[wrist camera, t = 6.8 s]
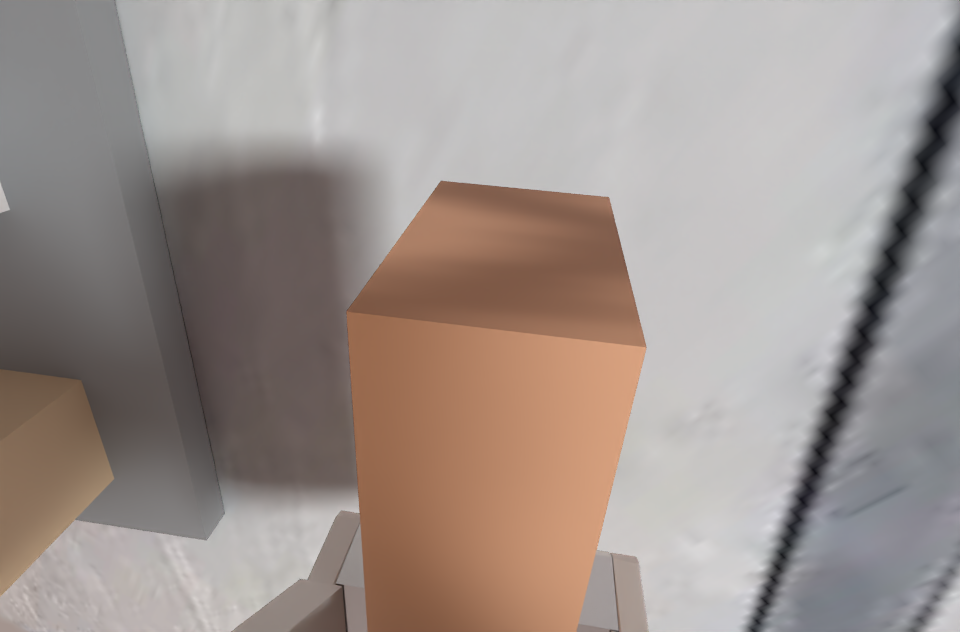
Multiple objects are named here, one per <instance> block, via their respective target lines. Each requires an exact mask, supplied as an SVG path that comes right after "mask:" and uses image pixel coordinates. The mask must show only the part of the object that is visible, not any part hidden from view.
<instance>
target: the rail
mask: <svg viewBox="0 0 960 632" xmlns="http://www.w3.org/2000/svg"><path fill="white" fill-rule="evenodd" d="M346 313H347V329H348V344H349V359H350V374H351V389H352V404H353V419H354V434H355V450H356V465H357V480H358V495H359V510H360V525H361V540H362V556H363V571H364V586H365V601H366V616H367V631H368V632H576V631H577V627H578V623H579V619H580V615H581V611H582V607H583V603H584V599H585V594H586V590H587V586H588V582H589V578H590V574H591V570H592V566H593V562H594V558H595V554H596V550H597V546H598V542H599V538H600V534H601V530H602V526H603V522H604V518H605V514H606V509H607V505H608V501H609V497H610V493H611V489H612V485H613V481H614V477H615V473H616V469H617V465H618V461H619V457H620V453H621V449H622V445H623V441H624V437H625V433H626V429H627V424H628V420H629V416H630V412H631V408H632V404H633V400H634V396H635V392H636V388H637V384H638V380H639V376H640V372H641V368H642V364H643V360H644V356H645V352H646V348H647V347H646V343H645V339H644V335H643V331H642V327H641V323H640V319H639V315H638V311H637V307H636V303H635V299H634V295H633V291H632V287H631V283H630V279H629V275H628V271H627V267H626V263H625V259H624V255H623V251H622V247H621V243H620V239H619V235H618V231H617V227H616V223H615V219H614V215H613V211H612V207H611V203H610V199H609V197H601V196H591V195H581V194H571V193H560V192H550V191H540V190H529V189H519V188H509V187H499V186H488V185H478V184H468V183H457V182H447V181H441V182H440V183H439V184H438V186H437V187H436V188H435V190H434V191H433V193H432V194H431V195H430V197H429V198H428V200H427V201H426V202H425V204H424V205H423V206H422V208H421V209H420V211H419V212H418V213H417V215H416V216H415V217H414V219H413V220H412V222H411V223H410V224H409V226H408V227H407V229H406V230H405V231H404V233H403V234H402V235H401V237H400V238H399V240H398V241H397V242H396V244H395V245H394V247H393V248H392V249H391V251H390V252H389V253H388V255H387V256H386V258H385V259H384V260H383V262H382V263H381V264H380V266H379V267H378V269H377V270H376V271H375V273H374V274H373V276H372V277H371V278H370V280H369V281H368V282H367V284H366V285H365V287H364V288H363V289H362V291H361V292H360V294H359V295H358V296H357V298H356V299H355V300H354V302H353V303H352V305H351V306H350V307H349V309H348V310H347V311H346Z"/></svg>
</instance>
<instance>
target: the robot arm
mask: <svg viewBox="0 0 960 632" xmlns="http://www.w3.org/2000/svg"><path fill="white" fill-rule="evenodd" d="M231 632H368V631H367V616H366V601H365V586H364V571H363V556H362V540H361V525H360V513H354V512H348V511H342V510H341V511H340V513H339V514H338V515H337V516H336V518H335V520H334V522H333V524H332V527H331V529H330V531H329V533H328V535H327V538H326V540H325V542H324V544H323V546H322V549H321V551H320V553H319V555H318V557H317V560H316V562H315V564H314V566H313V569H312V571H311V573H310V575H309V577H308V580H304V579H300V580H298V581H297V582H296V583H294V584H293V585H292V586H290V587H289V588H288V589H286V590H285V591H284V592H283V593H281V594H280V595H279V596H277V597H276V598H275V599H273V600H272V601H271V602H269V603H268V604H267V605H265V606H264V607H263V608H261V609H260V610H259V611H258V612H256V613H255V614H254V615H252V616H251V617H250V618H248V619H247V620H246V621H244V622H243V623H242V624H240V625H239V626H238V627H237V628H235V629H234V630H233V631H231ZM576 632H649V629H648V622H647V615H646V608H645V601H644V594H643V587H642V580H641V573H640V566H639V561H638V559H637V558H636V557H635V556H628V555H622V554H615V553H609V552H606V551H599V550H596V554H595V558H594V562H593V566H592V570H591V574H590V578H589V582H588V586H587V590H586V594H585V599H584V603H583V607H582V611H581V615H580V619H579V623H578V627H577V631H576Z"/></svg>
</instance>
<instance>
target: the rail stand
mask: <svg viewBox="0 0 960 632" xmlns="http://www.w3.org/2000/svg"><path fill="white" fill-rule="evenodd" d="M224 514H225V512H224V508H223V503H222V498H221V494H220V489H219V484H218V480H217V475H216V470H215V466H214V461H213V456H212V452H211V447H210V442H209V438H208V433H207V428H206V424H205V419H204V415H203V410H202V405H201V401H200V396H199V391H198V387H197V382H196V377H195V373H194V368H193V363H192V359H191V354H190V349H189V345H188V340H187V335H186V331H185V326H184V321H183V317H182V312H181V307H180V303H179V298H178V293H177V289H176V284H175V279H174V275H173V270H172V265H171V261H170V256H169V251H168V247H167V242H166V237H165V233H164V228H163V223H162V219H161V214H160V209H159V205H158V200H157V195H156V191H155V186H154V181H153V177H152V172H151V167H150V163H149V158H148V153H147V149H146V144H145V139H144V135H143V130H142V125H141V121H140V116H139V111H138V107H137V102H136V97H135V93H134V88H133V83H132V79H131V74H130V69H129V65H128V60H127V55H126V51H125V46H124V41H123V37H122V32H121V27H120V23H119V18H118V13H117V9H116V4H115V0H0V597H1V596H2V595H3V594H4V592H5V591H6V590H7V589H8V588H9V587H10V586H11V585H12V584H13V583H14V582H15V581H16V580H17V579H18V578H19V577H20V576H21V575H22V574H23V573H24V572H25V571H26V570H27V569H28V568H29V567H30V566H31V565H32V563H33V562H34V561H35V560H36V559H37V558H38V557H39V556H40V555H41V554H42V553H43V552H44V551H45V550H46V549H47V548H48V547H49V546H50V545H51V544H52V543H53V542H54V541H55V540H56V539H57V538H58V537H59V536H60V534H61V533H62V532H63V531H64V530H65V529H66V528H67V527H68V526H69V525H70V524H71V523H72V522H73V521H74V520H79V521H86V522H92V523H99V524H105V525H111V526H118V527H124V528H131V529H137V530H143V531H150V532H156V533H163V534H169V535H175V536H182V537H188V538H195V539H201V540H207V539H208V538H209V536H210V535H211V533H212V532H213V530H214V529H215V527H216V526H217V524H218V523H219V521H220V520H221V518H222V517H223V515H224Z"/></svg>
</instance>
